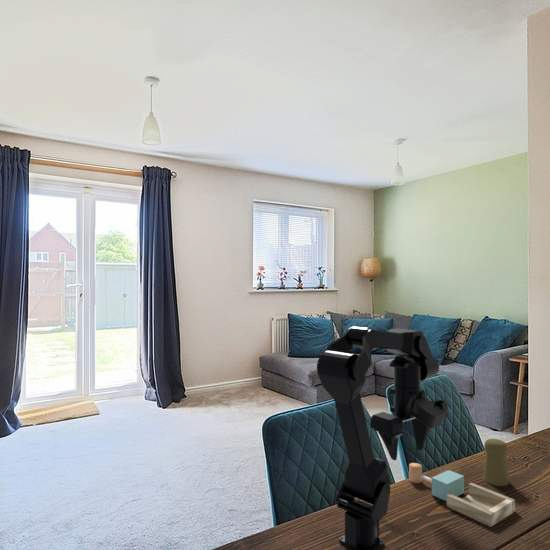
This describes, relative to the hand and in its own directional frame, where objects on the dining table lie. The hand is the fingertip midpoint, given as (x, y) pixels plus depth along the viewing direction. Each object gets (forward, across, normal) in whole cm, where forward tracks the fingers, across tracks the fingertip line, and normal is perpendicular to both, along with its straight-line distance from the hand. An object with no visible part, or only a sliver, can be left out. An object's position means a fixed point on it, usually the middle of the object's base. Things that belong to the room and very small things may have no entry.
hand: (407, 454), depth 101 cm
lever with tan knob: (+12, +11, +1) cm, 16 cm away
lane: (+12, +11, -11) cm, 20 cm away
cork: (+12, +27, -6) cm, 30 cm away
